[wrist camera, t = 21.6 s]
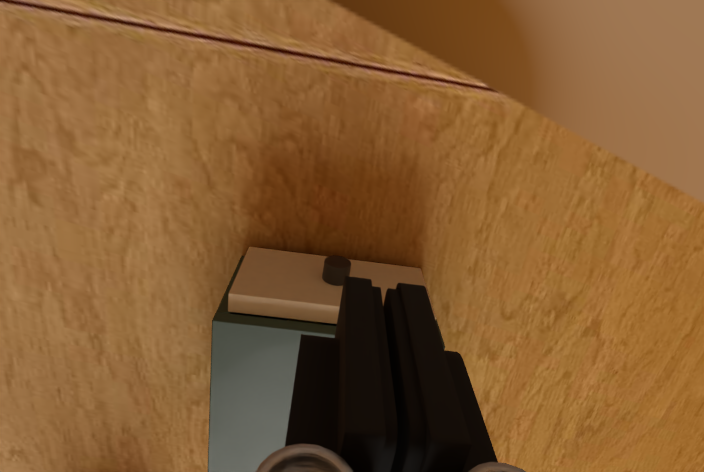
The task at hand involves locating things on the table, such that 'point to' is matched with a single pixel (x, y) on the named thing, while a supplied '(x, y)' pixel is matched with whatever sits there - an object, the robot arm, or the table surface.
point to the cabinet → (252, 384)
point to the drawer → (306, 284)
